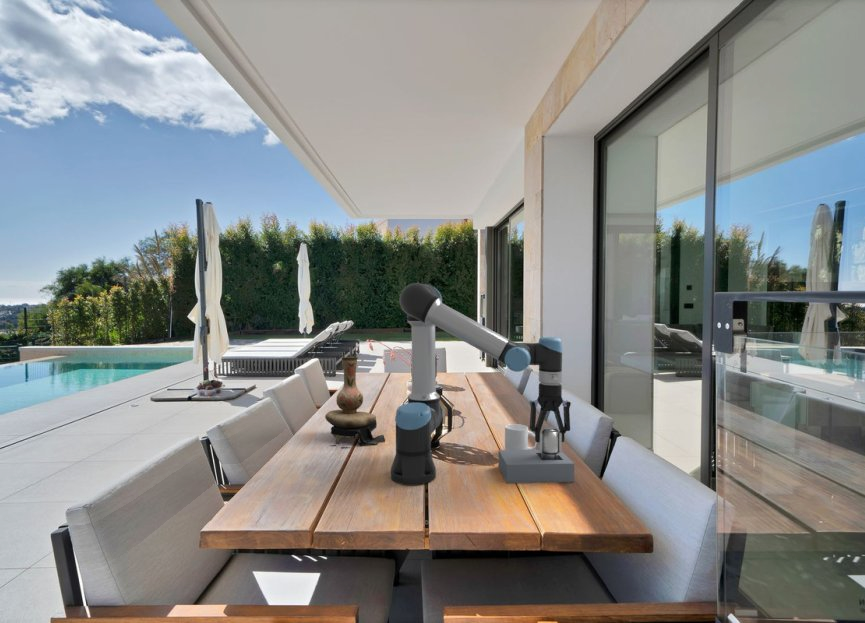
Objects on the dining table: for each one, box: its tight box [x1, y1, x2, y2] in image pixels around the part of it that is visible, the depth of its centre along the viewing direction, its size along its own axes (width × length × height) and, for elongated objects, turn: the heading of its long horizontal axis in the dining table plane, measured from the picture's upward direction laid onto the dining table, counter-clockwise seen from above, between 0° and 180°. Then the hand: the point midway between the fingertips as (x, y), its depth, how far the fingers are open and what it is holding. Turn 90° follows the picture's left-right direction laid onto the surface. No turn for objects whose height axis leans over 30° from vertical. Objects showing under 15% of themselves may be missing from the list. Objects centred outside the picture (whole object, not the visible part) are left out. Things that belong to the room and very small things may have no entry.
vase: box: [324, 356, 386, 449], centre depth 188 cm, size 24×22×35 cm
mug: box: [504, 423, 538, 450], centre depth 168 cm, size 9×12×11 cm
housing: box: [497, 449, 575, 484], centre depth 149 cm, size 22×14×6 cm, turn 93°
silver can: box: [540, 426, 559, 460], centre depth 150 cm, size 6×6×13 cm
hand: (549, 451), depth 150 cm, fingers closed on silver can, 6 cm apart
